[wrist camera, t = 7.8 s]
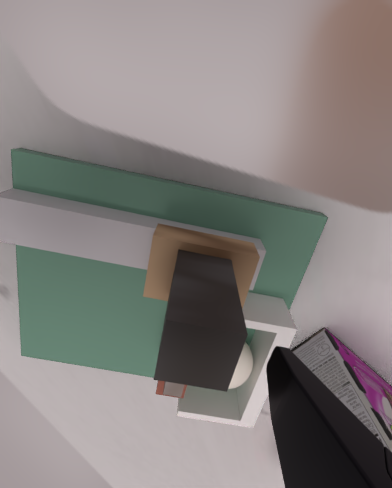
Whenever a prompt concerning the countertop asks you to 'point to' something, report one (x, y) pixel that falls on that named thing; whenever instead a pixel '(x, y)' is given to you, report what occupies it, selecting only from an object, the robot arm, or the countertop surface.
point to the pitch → (140, 269)
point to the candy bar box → (350, 382)
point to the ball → (242, 368)
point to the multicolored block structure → (199, 306)
